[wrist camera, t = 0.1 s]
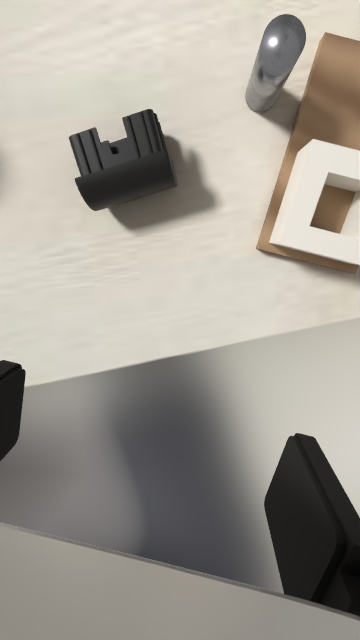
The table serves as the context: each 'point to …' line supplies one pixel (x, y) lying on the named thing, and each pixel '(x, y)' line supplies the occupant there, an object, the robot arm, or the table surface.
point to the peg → (275, 61)
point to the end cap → (123, 163)
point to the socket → (302, 197)
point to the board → (325, 125)
